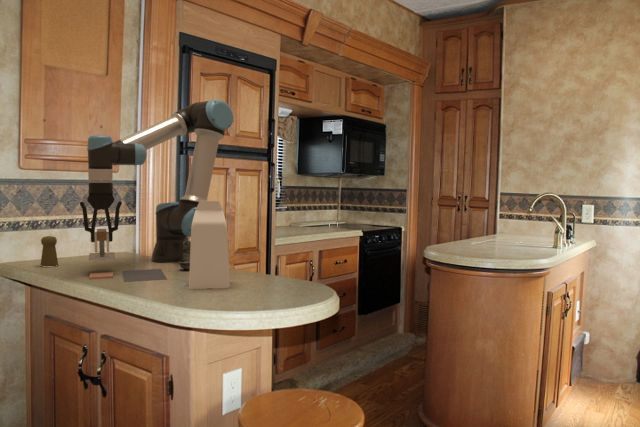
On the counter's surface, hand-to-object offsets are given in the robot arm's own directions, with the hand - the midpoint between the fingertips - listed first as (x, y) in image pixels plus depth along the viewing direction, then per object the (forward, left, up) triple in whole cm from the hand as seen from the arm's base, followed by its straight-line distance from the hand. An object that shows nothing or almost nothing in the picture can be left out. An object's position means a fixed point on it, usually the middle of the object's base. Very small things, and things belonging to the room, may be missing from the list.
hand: (102, 251), depth 185 cm
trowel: (0, -1, -2) cm, 2 cm away
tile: (0, +4, -7) cm, 8 cm away
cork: (+18, -25, -8) cm, 32 cm away
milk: (-31, +30, -8) cm, 44 cm away
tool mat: (-13, +9, -8) cm, 17 cm away
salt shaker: (-28, +3, -8) cm, 29 cm away
